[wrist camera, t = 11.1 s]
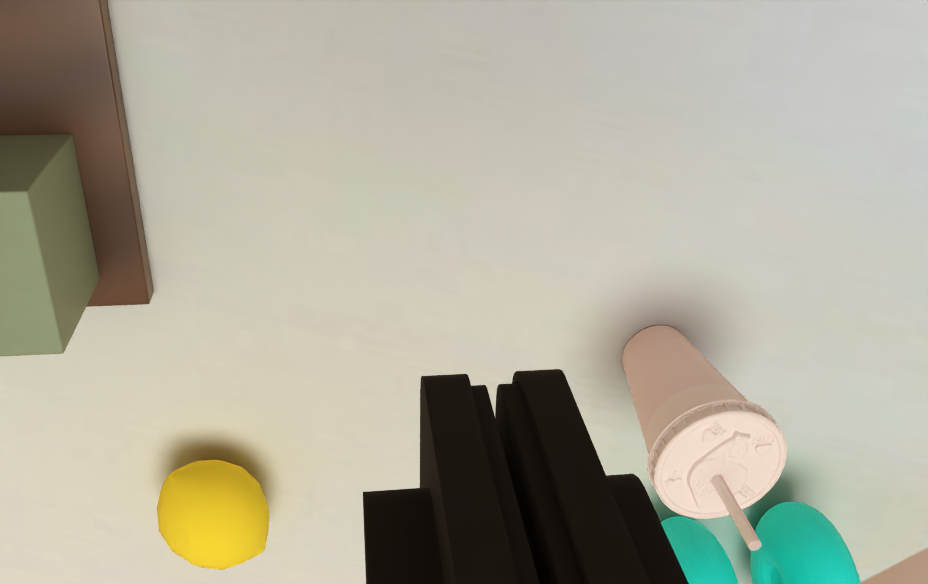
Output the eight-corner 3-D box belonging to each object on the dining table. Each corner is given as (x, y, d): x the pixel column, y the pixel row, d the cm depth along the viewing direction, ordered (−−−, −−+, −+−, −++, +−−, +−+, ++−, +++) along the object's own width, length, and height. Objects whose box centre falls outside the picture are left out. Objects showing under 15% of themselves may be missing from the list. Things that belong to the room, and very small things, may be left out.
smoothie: (579, 387, 49) (660, 578, 37) (628, 290, 47) (733, 461, 34) (678, 411, 51) (786, 601, 39) (731, 319, 48) (865, 492, 36)
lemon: (139, 468, 48) (118, 540, 43) (215, 416, 47) (201, 484, 42) (227, 540, 51) (217, 614, 46) (300, 492, 50) (297, 563, 45)
